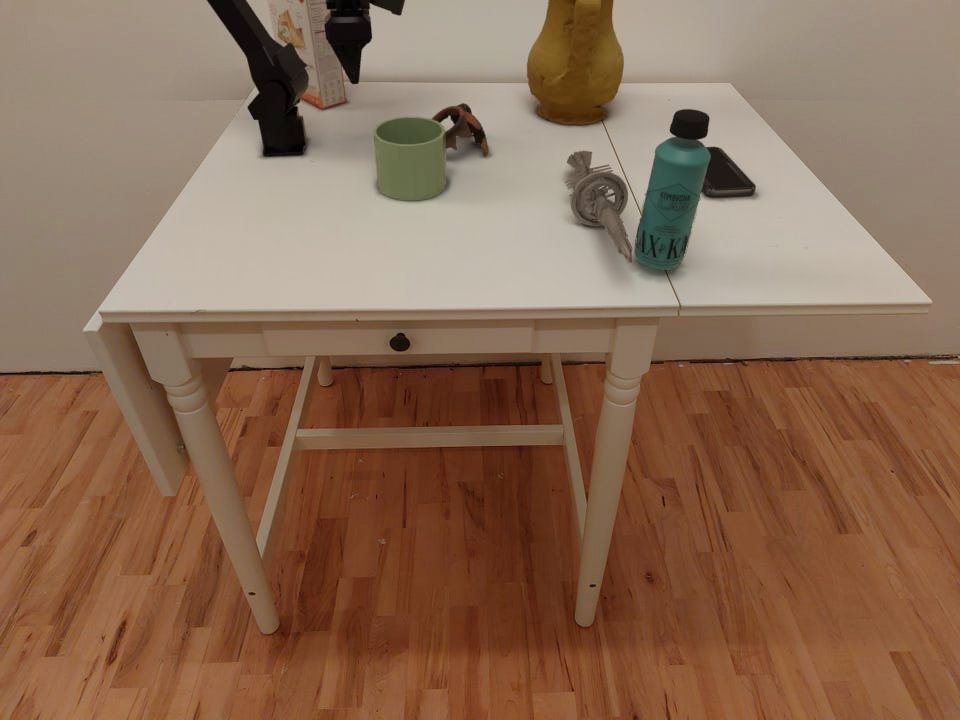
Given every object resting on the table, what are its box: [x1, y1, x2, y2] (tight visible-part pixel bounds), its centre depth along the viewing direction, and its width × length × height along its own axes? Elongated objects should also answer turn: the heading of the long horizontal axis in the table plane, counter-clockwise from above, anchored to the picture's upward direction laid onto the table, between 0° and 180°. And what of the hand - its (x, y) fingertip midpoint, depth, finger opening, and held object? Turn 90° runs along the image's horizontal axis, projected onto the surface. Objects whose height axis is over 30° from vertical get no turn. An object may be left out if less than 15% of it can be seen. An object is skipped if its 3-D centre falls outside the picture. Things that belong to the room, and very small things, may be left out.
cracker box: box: [266, 0, 347, 110], centre depth 122 cm, size 14×6×21 cm, turn 43°
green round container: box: [372, 116, 448, 202], centre depth 99 cm, size 10×10×8 cm
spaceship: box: [564, 150, 633, 264], centre depth 91 cm, size 8×35×8 cm
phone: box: [701, 146, 757, 198], centre depth 106 cm, size 8×1×15 cm
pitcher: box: [526, 0, 625, 126], centre depth 116 cm, size 17×19×25 cm
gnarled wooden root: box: [431, 102, 489, 157], centre depth 110 cm, size 12×10×8 cm
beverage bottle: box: [633, 108, 711, 270], centre depth 80 cm, size 6×7×20 cm
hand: (354, 73), depth 101 cm, fingers open, 9 cm apart
